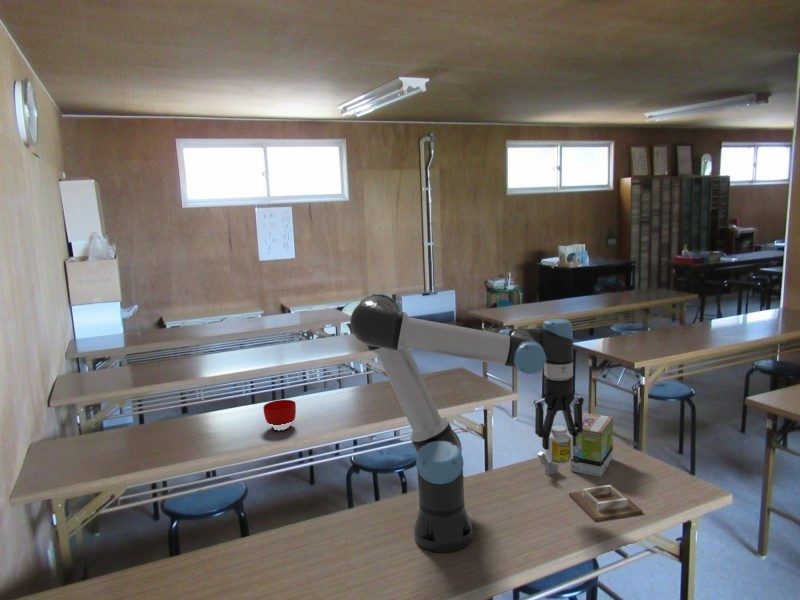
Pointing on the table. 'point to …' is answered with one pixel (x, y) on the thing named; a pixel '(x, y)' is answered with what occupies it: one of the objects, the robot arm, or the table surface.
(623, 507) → the socket board
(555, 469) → the lighter
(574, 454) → the tea box
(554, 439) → the supplement bottle
